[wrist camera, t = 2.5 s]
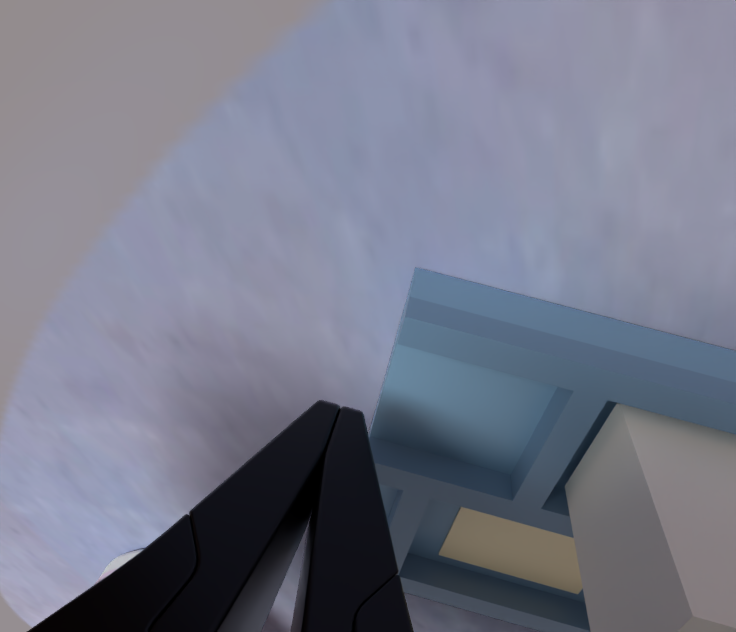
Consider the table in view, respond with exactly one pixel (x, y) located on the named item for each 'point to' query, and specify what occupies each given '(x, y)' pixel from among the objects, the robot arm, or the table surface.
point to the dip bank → (514, 438)
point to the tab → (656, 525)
